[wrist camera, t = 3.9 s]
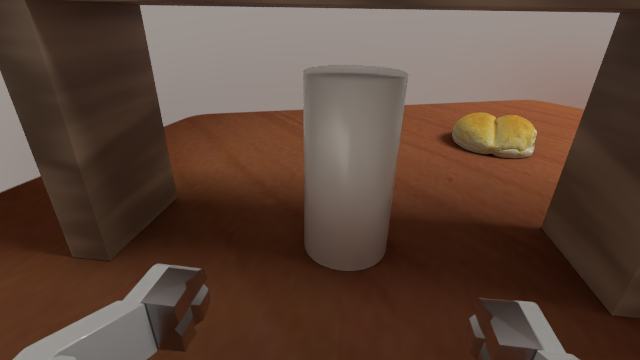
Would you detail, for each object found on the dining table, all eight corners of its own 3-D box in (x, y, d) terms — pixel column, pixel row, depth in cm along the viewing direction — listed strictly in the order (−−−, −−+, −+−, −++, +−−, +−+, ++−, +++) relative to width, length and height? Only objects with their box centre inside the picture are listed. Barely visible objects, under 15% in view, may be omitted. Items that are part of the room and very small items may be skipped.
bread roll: (457, 131, 46) (463, 102, 44) (533, 144, 41) (543, 112, 40) (442, 149, 39) (449, 116, 37) (530, 167, 35) (542, 130, 33)
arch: (578, 231, 24) (694, -43, 17) (665, 321, 17) (931, -84, 10) (148, 195, 28) (92, -42, 21) (72, 257, 21) (-55, -73, 13)
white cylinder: (384, 224, 25) (403, 66, 20) (387, 275, 20) (414, 83, 15) (311, 218, 25) (311, 63, 20) (297, 266, 20) (294, 78, 15)
